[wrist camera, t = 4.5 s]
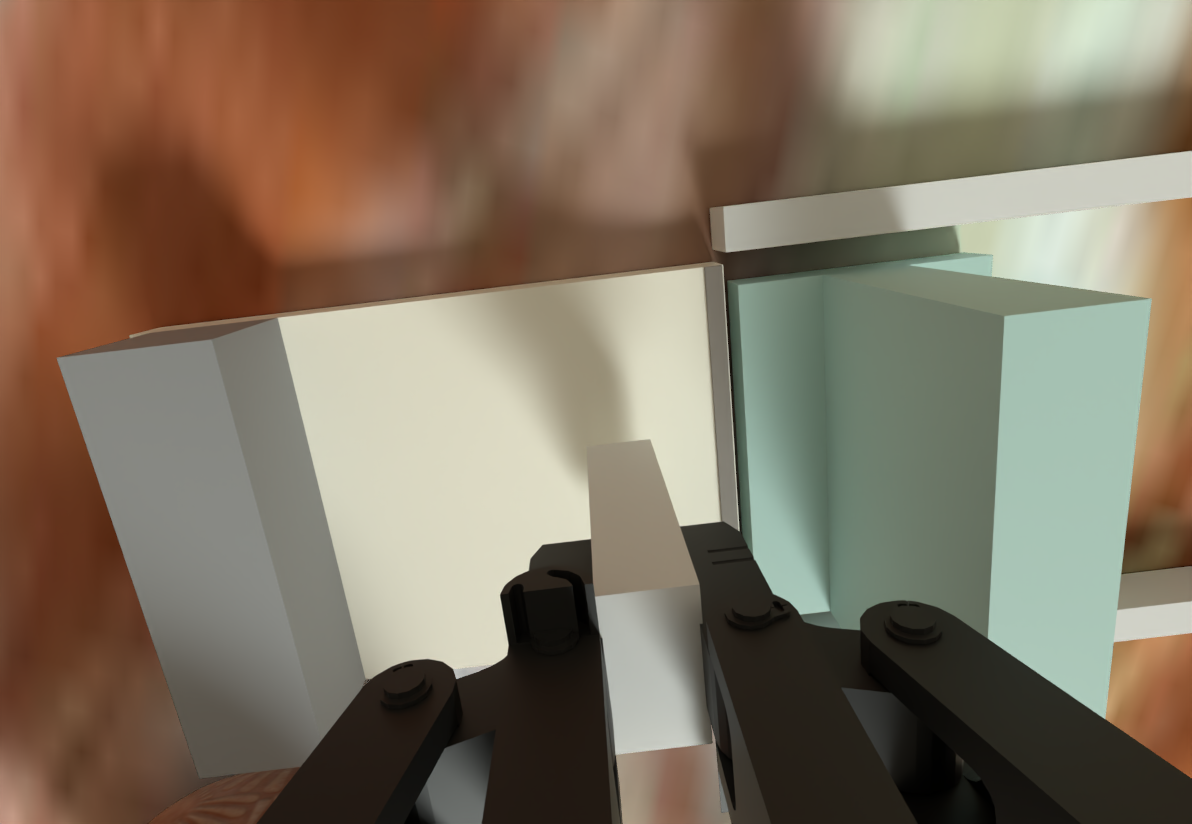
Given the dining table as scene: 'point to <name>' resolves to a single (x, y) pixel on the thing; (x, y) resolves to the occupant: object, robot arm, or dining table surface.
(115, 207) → the dining table surface
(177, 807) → the planter
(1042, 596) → the stub
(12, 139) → the dining table surface
